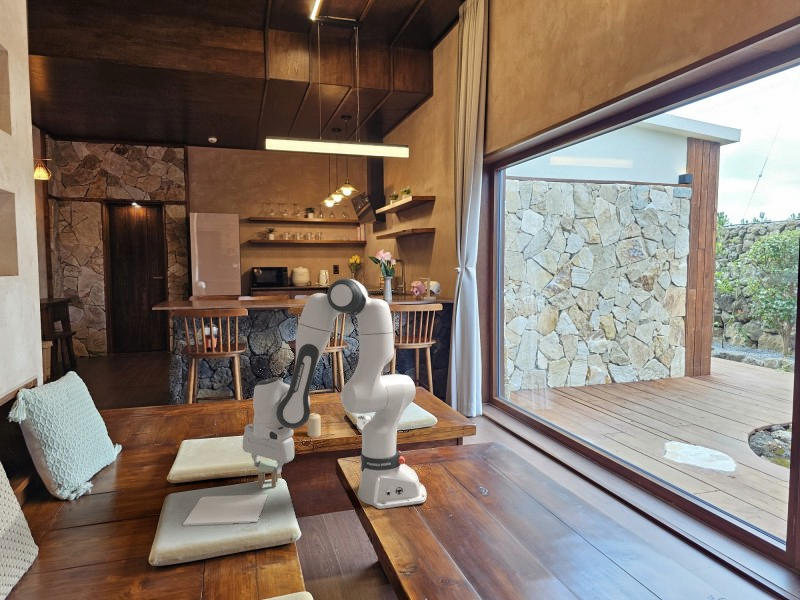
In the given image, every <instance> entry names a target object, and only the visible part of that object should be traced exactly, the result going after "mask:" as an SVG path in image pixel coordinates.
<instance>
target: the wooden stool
mask: <svg viewBox="0 0 800 600" xmlns="http://www.w3.org/2000/svg"><path fill="white" fill-rule="evenodd" d="M260 461H261V462H260V464H259V466H258V467H257V478H258V479H257V480H258V483H257V484H258V485H257V486H258V488H261V489H263V488H262V487H264V483H265V482H266V473H268V472H269V473H270V472H271V488H272V487H273V488H272V489H275V488H274V487H276V488H277V483H278V482H279V476H278V475H279V474H277V473H275V472H274V471H275V470H274V468H275V467H277V465H278V464H277V461H276V460H272V459H269V460H260ZM263 482H264V483H263Z"/></svg>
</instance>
